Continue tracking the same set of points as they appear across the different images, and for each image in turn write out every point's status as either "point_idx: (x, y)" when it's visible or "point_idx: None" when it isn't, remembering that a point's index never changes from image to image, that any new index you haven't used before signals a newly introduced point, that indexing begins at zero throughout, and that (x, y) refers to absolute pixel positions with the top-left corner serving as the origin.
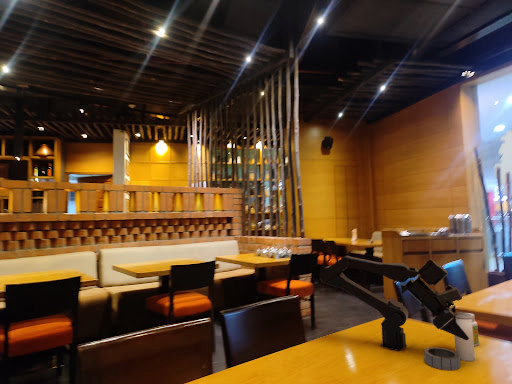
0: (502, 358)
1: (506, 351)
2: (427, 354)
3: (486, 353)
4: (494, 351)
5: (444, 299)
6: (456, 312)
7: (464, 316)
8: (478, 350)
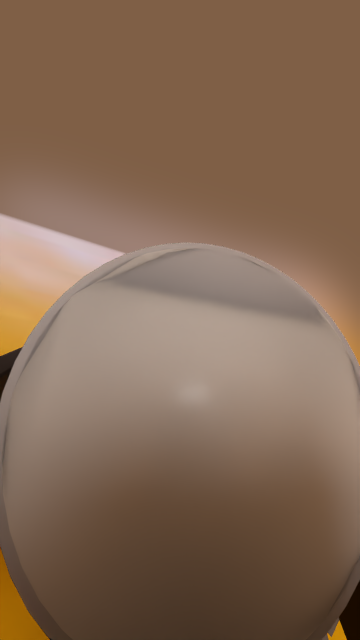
0: (99, 259)
1: (4, 218)
2: (335, 622)
3: (52, 298)
4: (15, 261)
5: None
6: (50, 550)
7: (354, 379)
8: (15, 321)
